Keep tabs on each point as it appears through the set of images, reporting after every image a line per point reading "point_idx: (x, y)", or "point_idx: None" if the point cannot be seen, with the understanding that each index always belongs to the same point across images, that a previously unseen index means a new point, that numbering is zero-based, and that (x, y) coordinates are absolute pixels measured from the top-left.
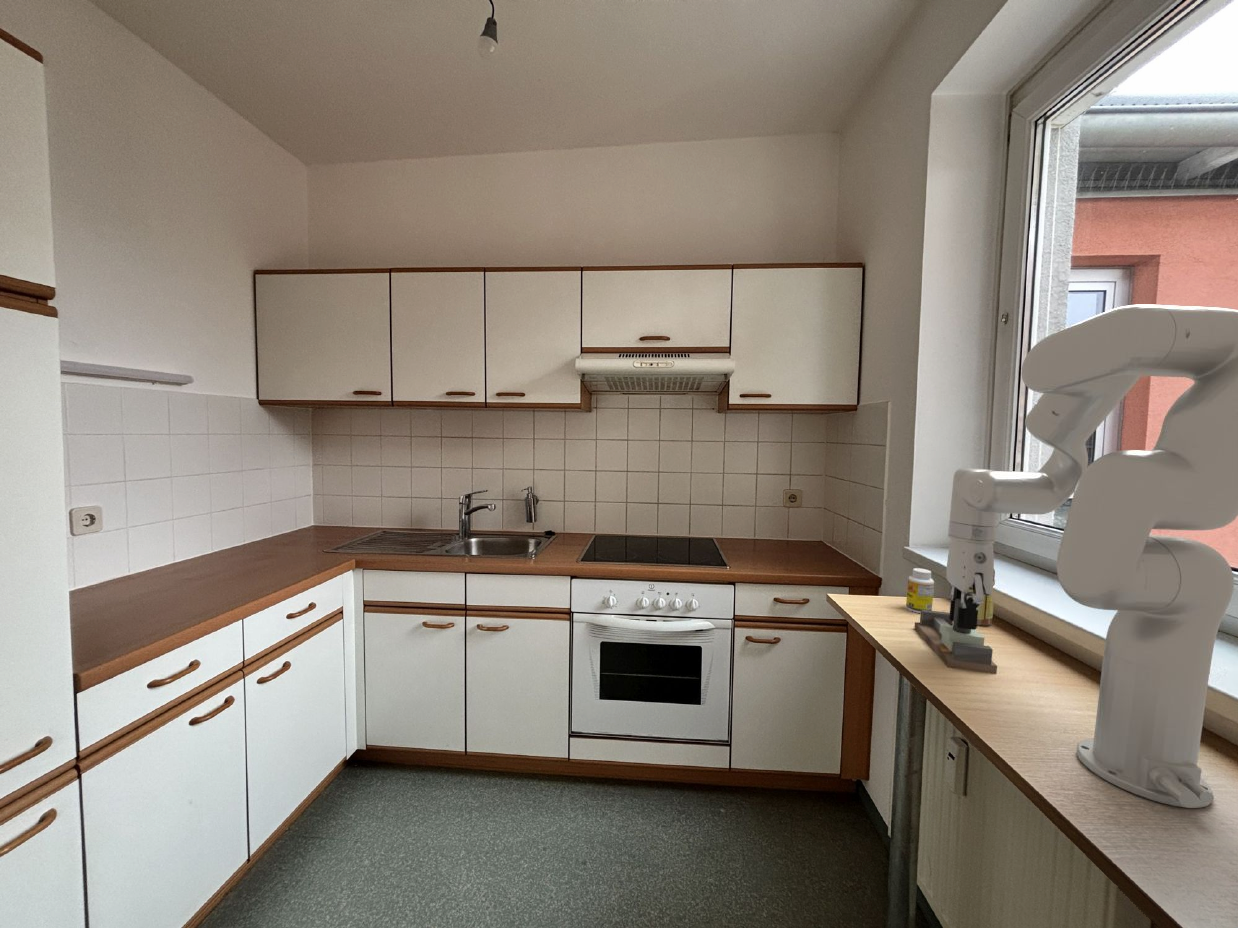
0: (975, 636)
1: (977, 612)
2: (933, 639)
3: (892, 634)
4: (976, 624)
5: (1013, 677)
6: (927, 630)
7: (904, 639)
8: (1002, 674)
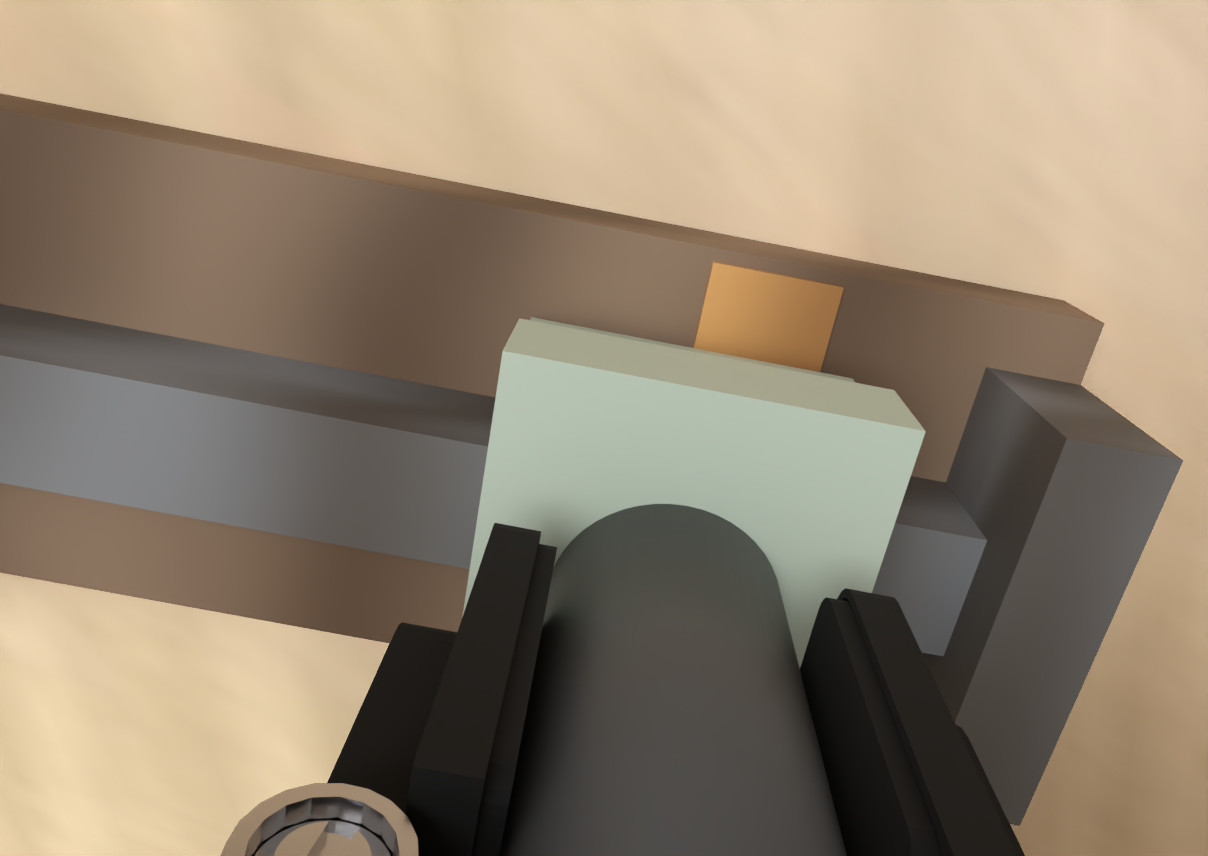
0: (873, 536)
1: (991, 819)
2: (399, 616)
3: (183, 794)
4: (908, 637)
5: (1157, 154)
6: (104, 536)
7: (289, 746)
8: (1078, 236)
